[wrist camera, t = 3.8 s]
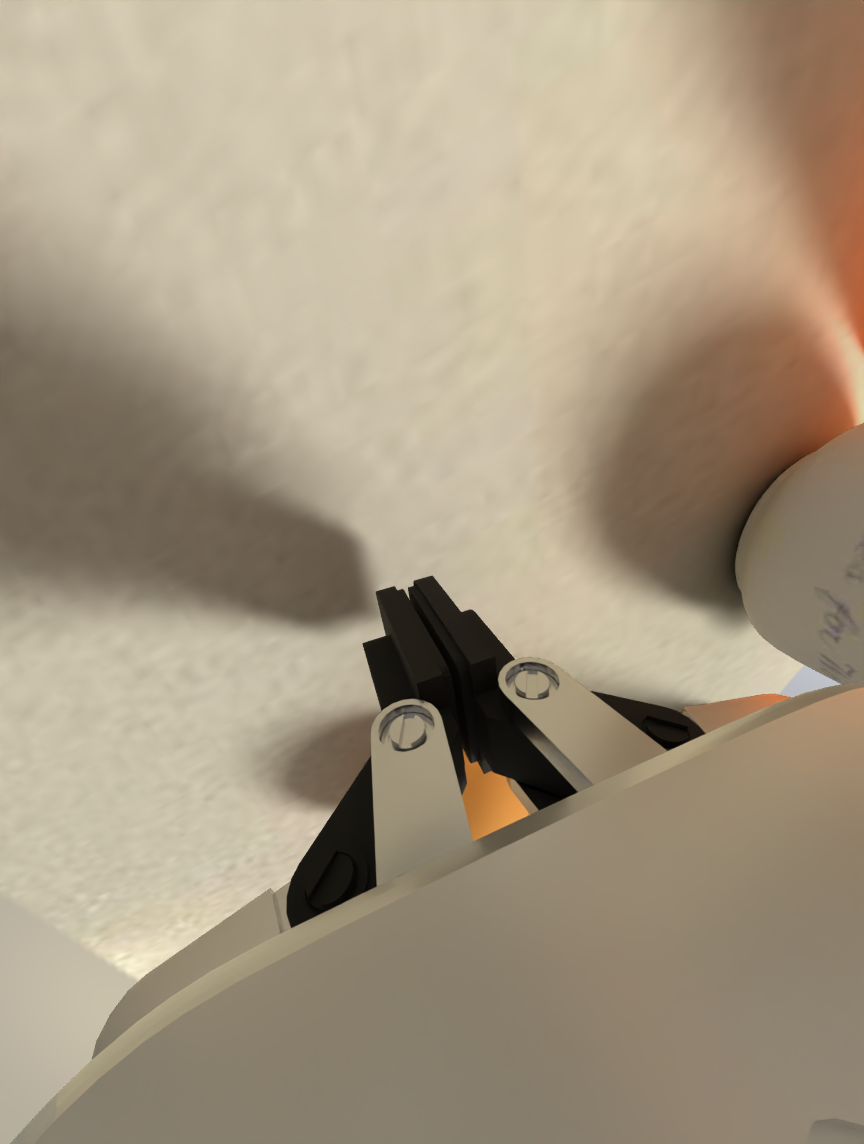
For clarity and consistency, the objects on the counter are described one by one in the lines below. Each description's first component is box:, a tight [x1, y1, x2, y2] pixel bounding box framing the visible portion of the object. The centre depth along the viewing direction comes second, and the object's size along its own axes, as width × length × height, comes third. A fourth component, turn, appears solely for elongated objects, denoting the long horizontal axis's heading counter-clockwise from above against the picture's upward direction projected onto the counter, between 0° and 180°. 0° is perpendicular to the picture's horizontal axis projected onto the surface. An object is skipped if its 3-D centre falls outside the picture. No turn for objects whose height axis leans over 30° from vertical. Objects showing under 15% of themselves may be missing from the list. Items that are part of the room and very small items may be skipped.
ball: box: [462, 750, 529, 841], centre depth 14 cm, size 6×6×6 cm
